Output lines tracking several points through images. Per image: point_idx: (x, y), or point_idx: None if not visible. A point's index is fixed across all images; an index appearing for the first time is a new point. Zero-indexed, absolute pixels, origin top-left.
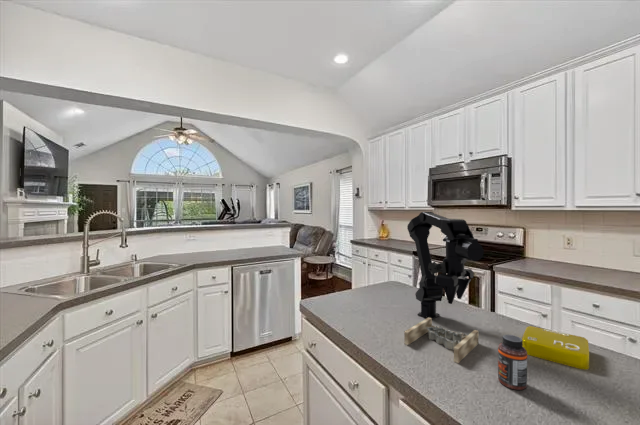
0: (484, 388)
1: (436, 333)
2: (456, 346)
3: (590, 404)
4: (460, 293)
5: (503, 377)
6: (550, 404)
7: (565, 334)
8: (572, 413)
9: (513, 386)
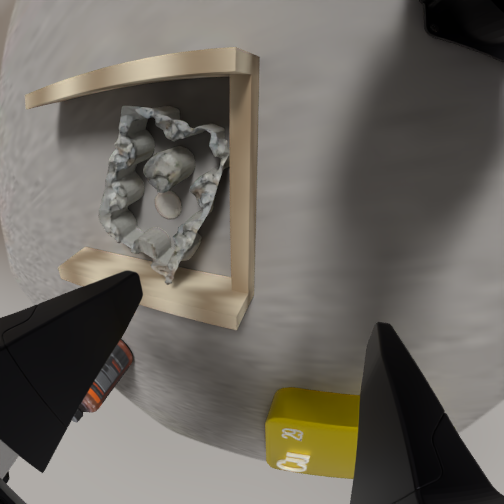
0: None
1: (124, 164)
2: (66, 272)
3: (159, 411)
4: (365, 400)
5: None
6: None
7: None
8: (120, 388)
9: None
